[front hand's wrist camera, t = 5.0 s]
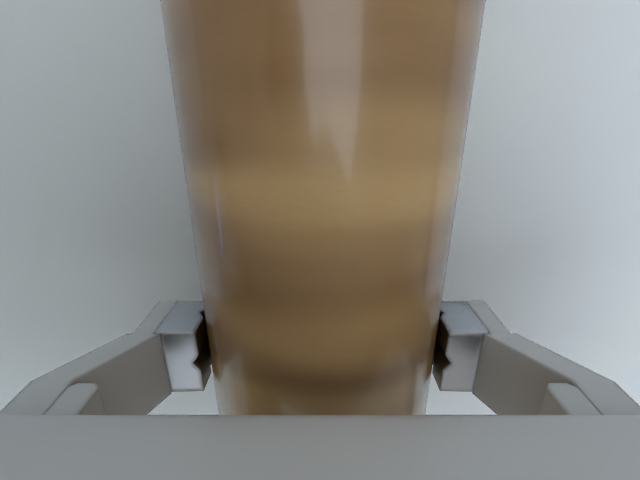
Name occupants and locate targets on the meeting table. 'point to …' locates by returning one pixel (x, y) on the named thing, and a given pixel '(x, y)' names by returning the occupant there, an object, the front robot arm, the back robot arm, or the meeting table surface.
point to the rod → (322, 191)
